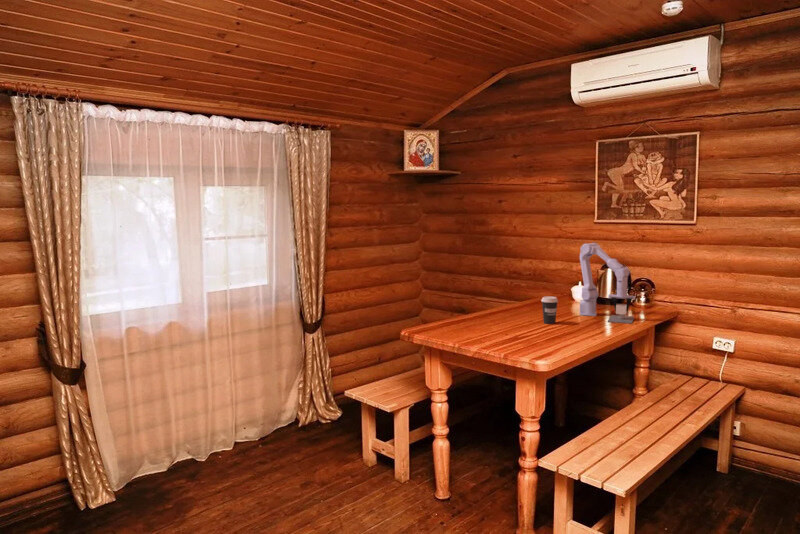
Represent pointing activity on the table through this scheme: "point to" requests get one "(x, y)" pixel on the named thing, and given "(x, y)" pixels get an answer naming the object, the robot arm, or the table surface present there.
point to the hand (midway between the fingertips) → (621, 310)
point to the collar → (621, 309)
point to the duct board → (621, 319)
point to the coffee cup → (549, 309)
